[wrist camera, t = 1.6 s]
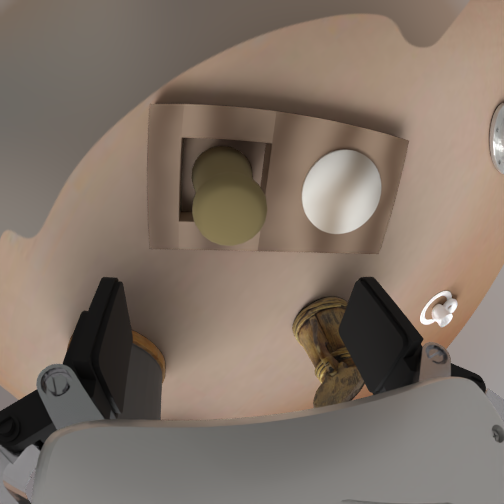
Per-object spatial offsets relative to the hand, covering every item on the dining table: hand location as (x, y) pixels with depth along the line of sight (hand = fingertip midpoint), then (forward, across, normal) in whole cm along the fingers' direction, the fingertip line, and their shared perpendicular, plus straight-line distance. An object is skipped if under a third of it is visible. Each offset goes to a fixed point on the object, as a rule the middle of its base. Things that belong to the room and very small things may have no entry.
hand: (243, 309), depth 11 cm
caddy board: (+20, -7, 0) cm, 21 cm away
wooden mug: (+20, -15, +18) cm, 30 cm away
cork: (+20, -1, 0) cm, 20 cm away
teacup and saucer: (+20, -43, +22) cm, 52 cm away
